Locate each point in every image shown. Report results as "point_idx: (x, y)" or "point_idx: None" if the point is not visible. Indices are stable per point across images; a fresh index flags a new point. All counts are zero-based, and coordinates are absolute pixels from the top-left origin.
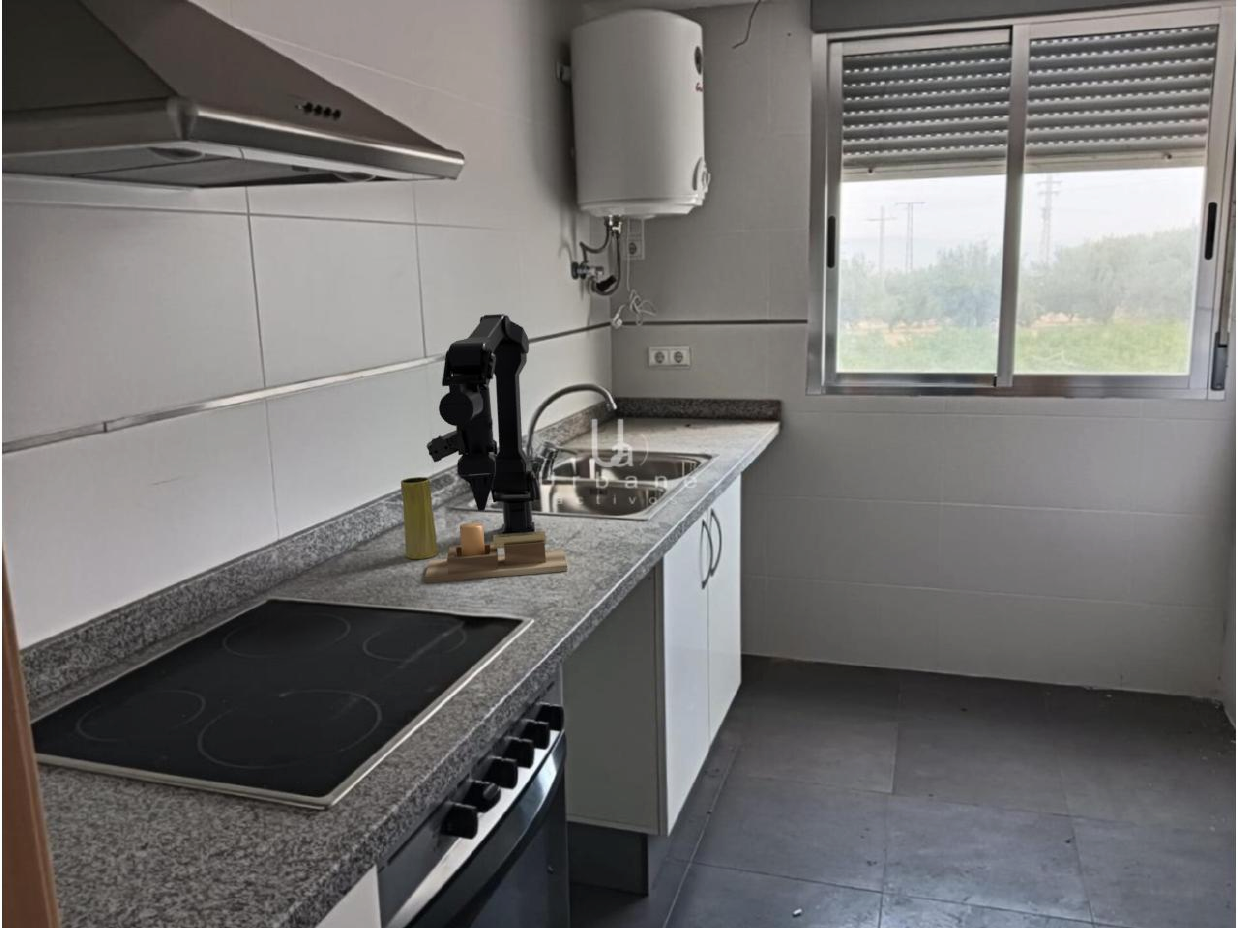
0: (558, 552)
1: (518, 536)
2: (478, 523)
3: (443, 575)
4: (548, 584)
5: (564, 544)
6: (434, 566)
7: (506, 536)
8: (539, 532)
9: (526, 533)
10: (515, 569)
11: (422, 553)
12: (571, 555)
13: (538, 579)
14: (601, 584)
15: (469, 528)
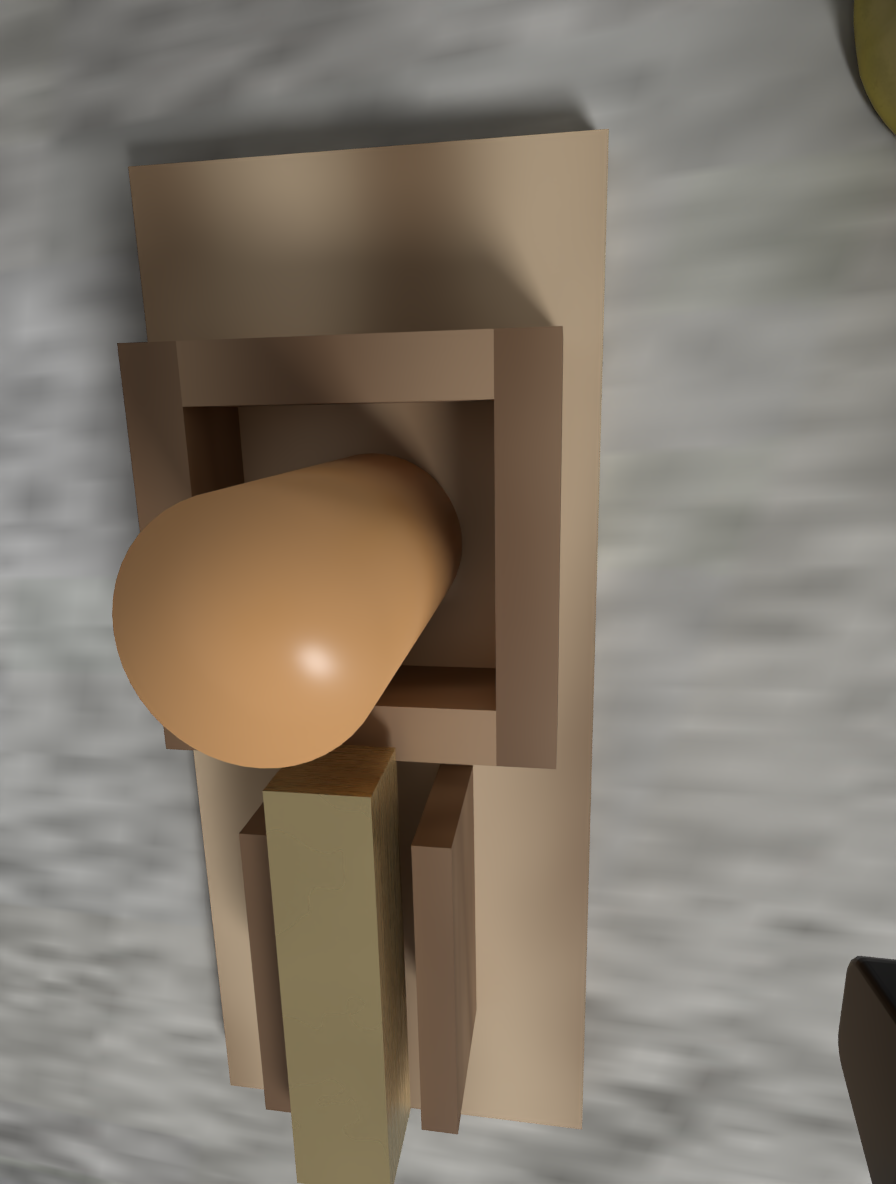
0: (519, 1090)
1: (283, 990)
2: (334, 720)
3: (148, 319)
4: (36, 936)
5: (842, 1139)
6: (397, 208)
7: (284, 902)
8: (350, 1153)
9: (345, 1061)
10: (203, 811)
11: (883, 2)
12: (555, 1128)
13: (125, 900)
14: (12, 1149)
15: (121, 615)
